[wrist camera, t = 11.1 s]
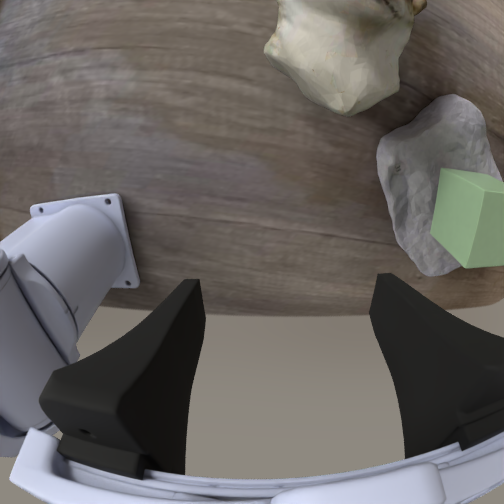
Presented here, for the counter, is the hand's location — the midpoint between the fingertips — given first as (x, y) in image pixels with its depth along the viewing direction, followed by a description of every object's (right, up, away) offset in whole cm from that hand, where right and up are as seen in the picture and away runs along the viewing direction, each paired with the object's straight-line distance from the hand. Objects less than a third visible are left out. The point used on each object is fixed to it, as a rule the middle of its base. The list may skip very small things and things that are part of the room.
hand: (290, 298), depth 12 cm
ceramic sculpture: (+4, +17, +2) cm, 18 cm away
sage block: (+12, +5, +4) cm, 14 cm away
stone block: (+12, +7, +8) cm, 16 cm away
